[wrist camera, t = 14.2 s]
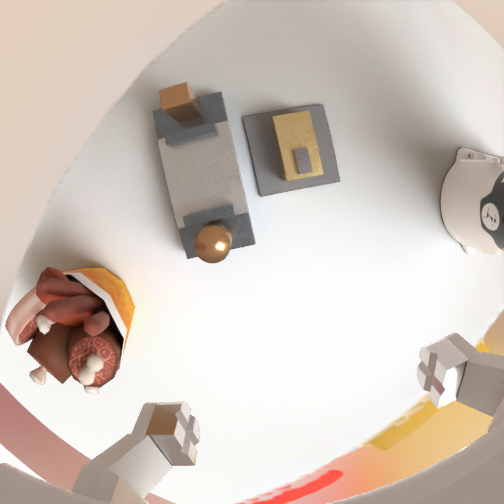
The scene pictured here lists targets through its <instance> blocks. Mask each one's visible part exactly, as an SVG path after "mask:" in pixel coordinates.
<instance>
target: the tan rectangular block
mask: <svg viewBox="0 0 504 504" xmlns="http://www.w3.org/2000/svg"><path fill="white" fill-rule="evenodd" d="M270 124H271V129H272V133H273V137H274V141H275V146H276V150H277V155H278V159H279V164H280V168H281V173H282V177H283V181H290V180H295V179H300V178H306V177H311V176H317V175H322V174H323V169H322V164H321V159H320V154H319V150H318V145H317V141H316V137H315V132H314V128H313V124H312V120H311V116H310V112H309V111H304V112H297V113H290V114H284V115H278V116H273V117H272V119H271V122H270Z"/></svg>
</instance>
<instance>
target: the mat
mask: <svg viewBox="0 0 504 504" xmlns="http://www.w3.org/2000/svg"><path fill="white" fill-rule="evenodd" d="M304 111H309V112H310V116H311V120H312V124H313V128H314V132H315V137H316V141H317V145H318V150H319V154H320V159H321V164H322V169H323V174H322V175H317V176H311V177H306V178H300V179H295V180H290V181H283V177H282V173H281V168H280V164H279V159H278V155H277V150H276V146H275V141H274V137H273V133H272V129H271V124H270V122H271V119H272V117H273V116H278V115H284V114H290V113H297V112H304ZM243 120H244V124H245V128H246V133H247V137H248V141H249V146H250V150H251V154H252V159H253V163H254V168H255V172H256V177H257V181H258V186H259V190H260V195H261V197H263V196H268V195H273V194H277V193H282V192H287V191H292V190H298V189H303V188H308V187H313V186H319V185H324V184H330V183H336V182H340V177H339V172H338V167H337V162H336V157H335V153H334V148H333V144H332V139H331V135H330V131H329V126H328V122H327V118H326V114H325V110H324V107H323V105H314V106H306V107H299V108H292V109H285V110H279V111H273V112H268V113H262V114H257V115H252V116H247V117H243Z"/></svg>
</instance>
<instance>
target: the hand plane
mask: <svg viewBox="0 0 504 504" xmlns="http://www.w3.org/2000/svg"><path fill="white" fill-rule="evenodd" d="M159 93H160V98H161V104H162V109H159V110H156V111H153V112H154V118H155V123H156V128H157V133H158V139H159V140H158V145H159V150H160V155H161V160H162V164H163V169H164V173H165V178H166V182H167V187H168V191H169V195H170V199H171V203H172V207H173V212H174V216H175V219H176V223H177V227H178V228H179V230H180V234H181V237H182V241H183V245H184V249H185V252H186V256H187V259H190V258H194V257H199V258H200V259H201V260H203V261H205V262H207V263H217V262H220V261H222V260H223V259H225V258H226V256H227V255H228V253H229V251H230V250H231V249H235V248H240V247H245V246H249V245H254V244H255V237H254V233H253V228H252V224H251V219H250V215H249V210H248V206H247V201H246V197H245V192H244V188H243V183H242V179H241V175H240V170H239V166H238V161H237V157H236V152H235V148H234V144H233V139H232V135H231V130H230V126H229V122H228V117H227V113H226V108H225V104H224V100H223V96H222V93H221V92H219V93H214V94H210V95H206V96H203V97H199V98H197V97H196V96H195V94H194V93H193V91H192V90H191V88H190V87H189V85H188V84H187V82H185V83H182V84H179V85H175V86H172V87H169V88H166V89H163V90H160V91H159Z"/></svg>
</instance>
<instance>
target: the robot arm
mask: <svg viewBox="0 0 504 504" xmlns="http://www.w3.org/2000/svg"><path fill="white" fill-rule="evenodd" d="M468 156H469V157H468ZM441 212H442V218H443V221H444V224H445V227H446V229H447V231H448V232H449V234H450V235H451V236H452V237H453V238H454V239H455V240H456V241H458V242H459V243H461V244H462V246H463V248H464V250H465V252H466V253H467V254H469V255H473V254H475V253H476V252H478V251H482V252H485V253H488V254H492V255H499V253H501V252H503V251H504V157H495V156H492V155H488V154H485V153H482V152H478V151H474V150H471V149H467V148H460V149H459V150H458V153H457V157H456V161H455V163H454V165H453V166H452V167H451V169H450V170H449V172H448V173H447V175H446V177H445V180H444V183H443V187H442V192H441ZM419 357H420V359H421V360H422V361H421V363H420V364H419V366H418V370H417V376H418V381H419V383H420V385H421V387H422V388H423V390H426V391H429V392H430V394H429V398H430V399H431V401H432V402H433V403H434V405H435V406H436V408H437V409H438V408H440V407H442V406H444V405H446V404H448V403H450V402H452V401H454V400H456V401H458V402H461V403H463V404H465V405H467V406H469V407H471V408H474V409H476V410H478V411H480V412H483V413H485V414H487V415H490V416H492V417H493V419H492V421H491V423H490V425H489V427H488V433H486V434H485V435H483V436H482V437H480V438H479V439H477V440H476V441H475V442H473V443H471V444H470V445H468V446H466V447H465V448H463V449H461V450H460V451H458V452H456V453H454V454H453V455H451V456H449V457H448V458H445V459H444V460H442V461H440V462H438V463H436V464H434V465H432V466H430V467H428V468H426V469H424V470H422V471H419V472H417V473H415V474H413V475H411V476H409V477H406V478H404V479H401V480H399V481H396V482H394V483H391V484H389V485H386V486H383V487H380V488H378V489H375V490H372V491H369V492H366V493H362V494H359V495H356V496H352V497H349V498H345V499H342V500H338V501H334V502H330V503H325V504H504V356H499V355H495V354H490V353H486V352H483V353H479V352H478V351H477V350H476V349H475V348H474V347H473V346H472V345H470V344H469V343H468V342H467V341H466V340H465V339H463V338H462V337H461V336H460V335H459V334H457V333H453V334H451V335H449V336H447V337H445V338H443V339H440V340H438V341H436V342H434V343H431V344H429V345H427V346H424V347H422V348H421V350H420V355H419ZM190 411H191V409H190V407H189V405H188V403H186V402H159V403H146V404H144V405H143V407H142V410H141V412H140V414H139V417H138V419H137V422H136V424H135V426H134V429H133V431H132V434H127V435H126V436H125V437H123V438H122V439H121V440H119V441H118V442H116V443H115V444H114V445H112V446H111V447H110V448H108V449H107V450H105V451H104V452H103V453H101V454H100V455H98V456H97V457H96V458H94V459H93V460H91V461H90V462H89V463H87V464H85V465H84V466H83V467H82V469H81V471H80V474H79V476H78V478H77V480H76V482H75V484H74V486H73V489H72V491H69V490H66V489H63V488H60V487H58V486H55V485H53V484H50V483H48V482H45V481H43V480H40V479H38V478H36V477H34V476H31V475H29V474H27V473H25V472H23V471H21V470H19V469H17V468H15V467H13V466H11V465H9V464H6V463H1V464H0V504H149V503H148V502H147V501H145V500H144V499H143V498H144V497H145V496H146V495H147V494H148V493H149V492H150V491H151V490H152V489H153V488H154V487H155V486H156V485H157V483H158V482H159V481H160V480H161V479H162V478H163V477H164V476H165V475H166V473H167V472H168V471H169V470H170V469H171V468H172V466H191V465H195V462H196V457H197V450H196V448H195V445H196V444H197V443H198V442H199V438H200V430H199V425H198V422H197V420H196V418H195V417H193V416H192V415H190Z"/></svg>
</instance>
